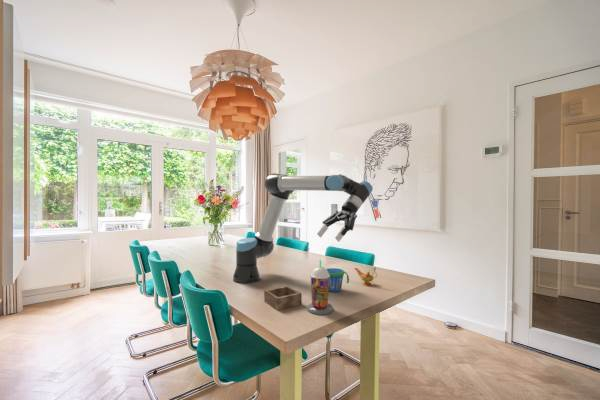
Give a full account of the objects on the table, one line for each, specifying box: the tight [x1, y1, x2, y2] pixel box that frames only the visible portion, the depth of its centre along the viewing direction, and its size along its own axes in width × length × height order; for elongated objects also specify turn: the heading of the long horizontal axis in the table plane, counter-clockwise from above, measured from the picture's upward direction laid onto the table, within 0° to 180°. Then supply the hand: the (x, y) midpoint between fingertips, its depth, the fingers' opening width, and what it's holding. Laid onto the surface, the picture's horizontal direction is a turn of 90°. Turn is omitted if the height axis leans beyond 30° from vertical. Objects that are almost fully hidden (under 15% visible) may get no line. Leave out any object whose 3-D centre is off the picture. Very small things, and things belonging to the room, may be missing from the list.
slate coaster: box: [307, 302, 334, 316], centre depth 119 cm, size 11×11×1 cm
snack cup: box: [325, 267, 350, 293], centre depth 145 cm, size 16×10×10 cm
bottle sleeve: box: [263, 285, 303, 311], centre depth 127 cm, size 12×12×5 cm
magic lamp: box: [354, 266, 378, 287], centre depth 156 cm, size 7×18×11 cm, turn 29°
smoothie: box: [310, 260, 330, 309], centre depth 119 cm, size 8×8×20 cm
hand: (327, 237), depth 132 cm, fingers open, 13 cm apart
